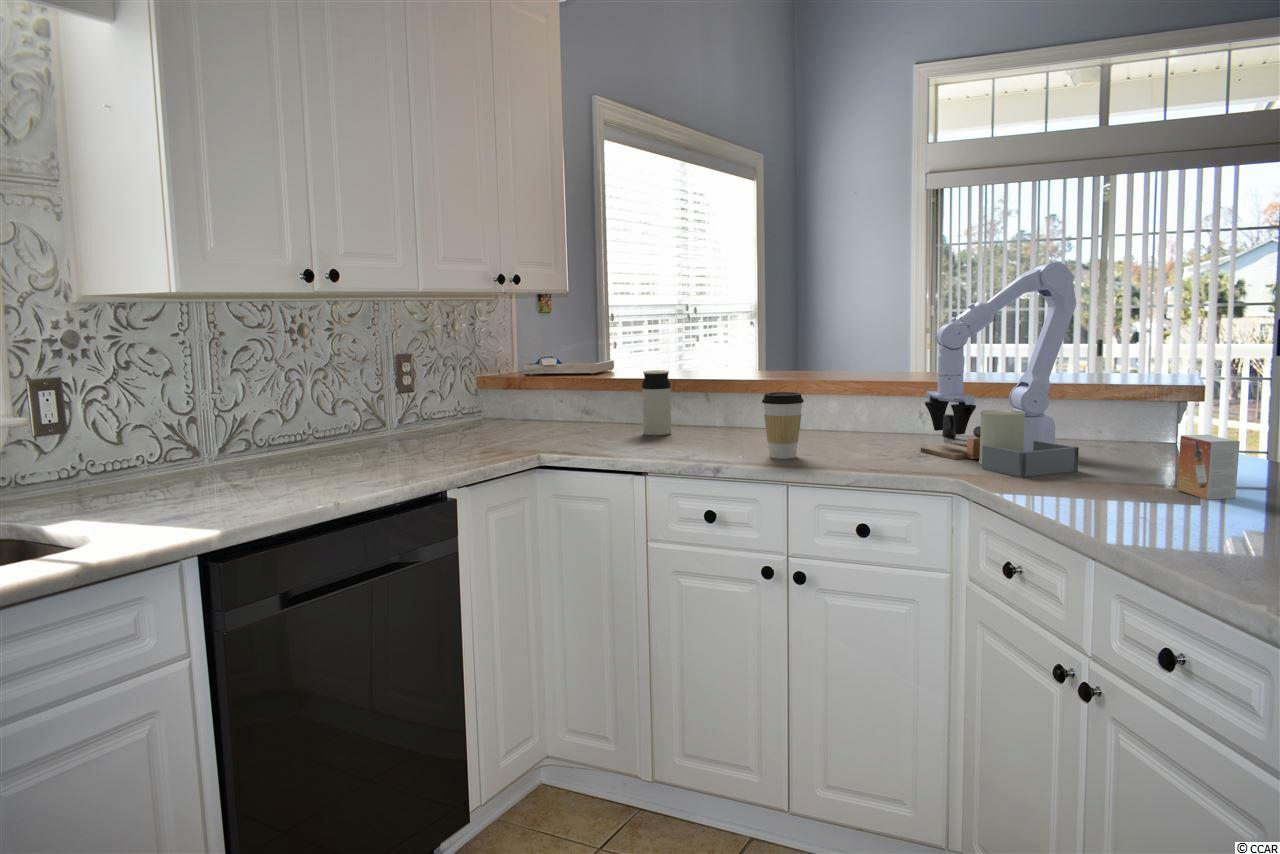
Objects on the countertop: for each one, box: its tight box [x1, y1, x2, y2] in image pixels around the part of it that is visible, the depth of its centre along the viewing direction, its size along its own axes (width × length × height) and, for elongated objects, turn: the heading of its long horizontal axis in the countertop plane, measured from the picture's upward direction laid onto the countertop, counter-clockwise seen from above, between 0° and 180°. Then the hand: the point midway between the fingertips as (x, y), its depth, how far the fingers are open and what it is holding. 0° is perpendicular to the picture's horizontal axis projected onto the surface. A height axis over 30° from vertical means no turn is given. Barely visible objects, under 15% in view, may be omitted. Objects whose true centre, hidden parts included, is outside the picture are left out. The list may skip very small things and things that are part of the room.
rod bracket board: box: [920, 444, 968, 460], centre depth 211 cm, size 10×12×1 cm
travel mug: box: [641, 369, 672, 437], centre depth 254 cm, size 8×8×18 cm
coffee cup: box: [761, 391, 805, 460], centre depth 212 cm, size 10×10×15 cm
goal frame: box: [981, 440, 1080, 478], centre depth 189 cm, size 15×11×5 cm
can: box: [978, 409, 1025, 466], centre depth 196 cm, size 9×9×12 cm
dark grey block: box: [942, 413, 981, 460], centre depth 207 cm, size 5×13×9 cm, turn 21°
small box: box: [1176, 434, 1240, 501], centre depth 161 cm, size 8×6×10 cm
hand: (949, 432), depth 212 cm, fingers open, 7 cm apart
